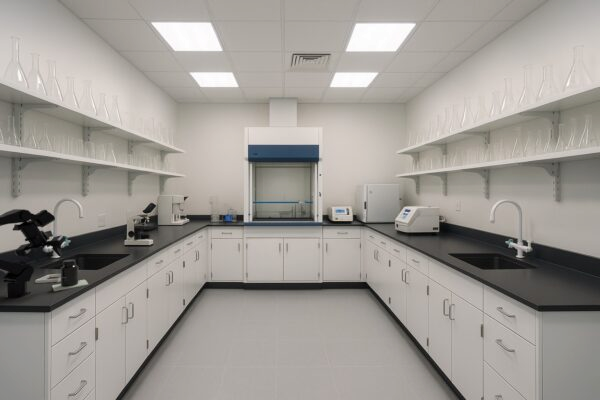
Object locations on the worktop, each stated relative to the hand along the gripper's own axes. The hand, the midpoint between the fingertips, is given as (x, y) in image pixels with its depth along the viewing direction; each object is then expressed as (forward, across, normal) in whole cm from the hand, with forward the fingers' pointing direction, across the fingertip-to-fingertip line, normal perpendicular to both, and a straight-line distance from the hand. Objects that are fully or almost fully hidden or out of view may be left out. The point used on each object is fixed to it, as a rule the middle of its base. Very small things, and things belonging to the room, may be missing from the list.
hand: (50, 259), depth 141 cm
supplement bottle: (+13, -5, +8) cm, 16 cm away
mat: (+13, -5, +8) cm, 16 cm away
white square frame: (+15, +9, -6) cm, 19 cm away
